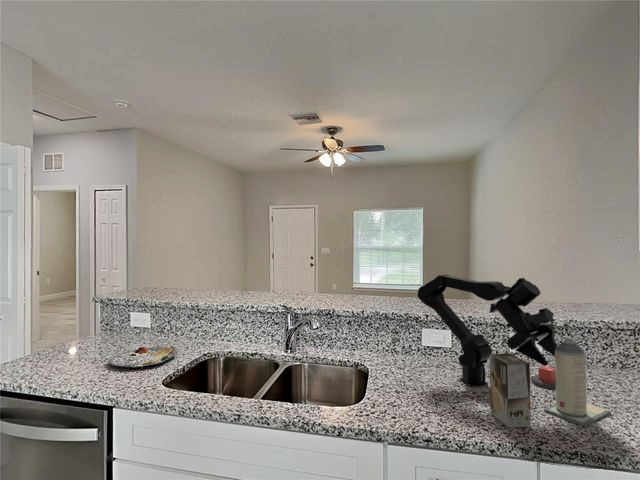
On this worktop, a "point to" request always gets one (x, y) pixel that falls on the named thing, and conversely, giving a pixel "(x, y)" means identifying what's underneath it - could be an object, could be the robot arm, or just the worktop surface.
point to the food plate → (161, 355)
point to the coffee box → (510, 390)
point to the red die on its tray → (542, 384)
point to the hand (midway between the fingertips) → (554, 361)
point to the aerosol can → (570, 379)
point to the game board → (592, 416)
